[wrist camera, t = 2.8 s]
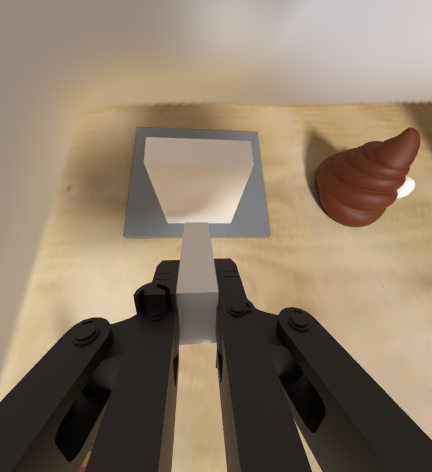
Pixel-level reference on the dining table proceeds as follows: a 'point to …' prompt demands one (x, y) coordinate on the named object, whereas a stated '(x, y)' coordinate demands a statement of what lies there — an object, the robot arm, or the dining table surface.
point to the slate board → (155, 225)
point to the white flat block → (198, 177)
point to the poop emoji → (367, 179)
